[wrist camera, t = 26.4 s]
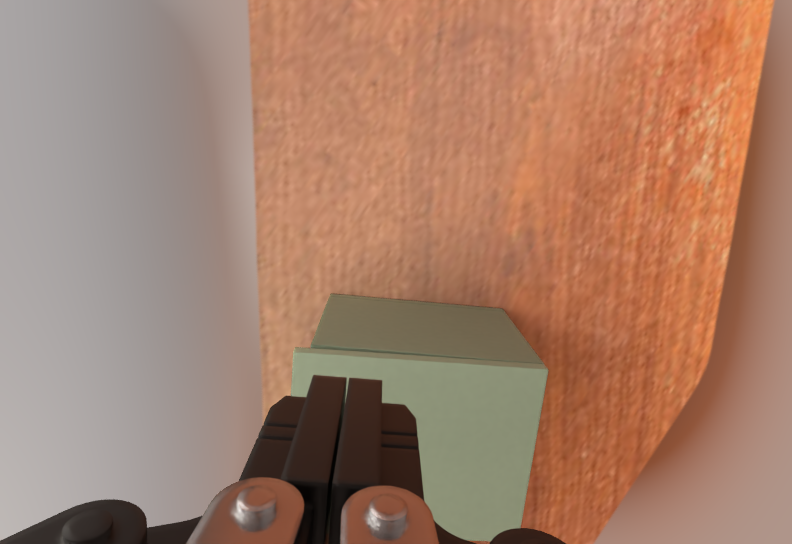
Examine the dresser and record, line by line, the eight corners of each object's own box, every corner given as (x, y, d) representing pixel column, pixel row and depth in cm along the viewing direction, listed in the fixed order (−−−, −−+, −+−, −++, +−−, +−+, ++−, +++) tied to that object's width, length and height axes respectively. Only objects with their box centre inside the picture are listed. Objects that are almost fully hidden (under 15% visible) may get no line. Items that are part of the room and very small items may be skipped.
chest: (320, 427, 42) (300, 518, 32) (330, 293, 40) (310, 344, 29) (482, 439, 43) (514, 532, 32) (502, 308, 40) (544, 363, 30)
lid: (285, 523, 31) (283, 533, 30) (295, 346, 29) (293, 352, 28) (514, 533, 32) (518, 543, 32) (544, 363, 30) (549, 369, 29)
